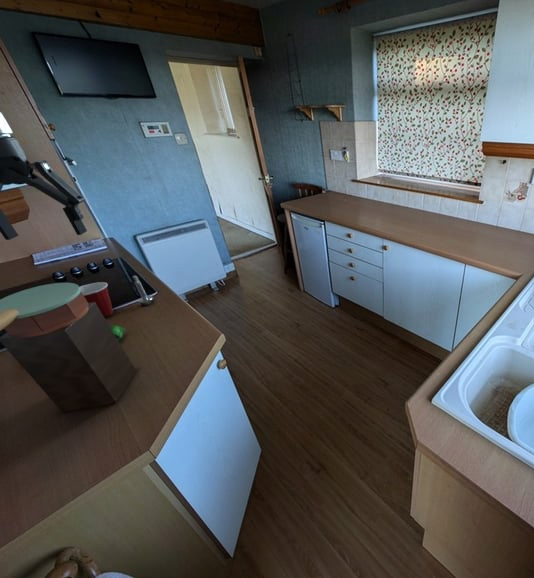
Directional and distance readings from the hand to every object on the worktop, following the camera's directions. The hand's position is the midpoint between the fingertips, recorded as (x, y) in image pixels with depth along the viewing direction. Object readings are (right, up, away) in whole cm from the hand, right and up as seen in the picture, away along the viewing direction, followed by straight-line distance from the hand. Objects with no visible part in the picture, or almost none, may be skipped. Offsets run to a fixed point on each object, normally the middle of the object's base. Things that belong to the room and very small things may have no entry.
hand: (48, 235), depth 70 cm
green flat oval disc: (+3, -19, -8) cm, 21 cm away
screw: (-16, -19, +49) cm, 55 cm away
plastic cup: (-27, -23, +42) cm, 55 cm away
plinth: (+1, -41, +12) cm, 43 cm away
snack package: (-15, -32, +27) cm, 45 cm away
